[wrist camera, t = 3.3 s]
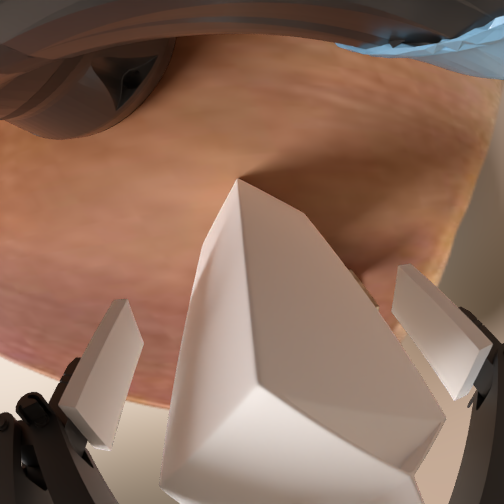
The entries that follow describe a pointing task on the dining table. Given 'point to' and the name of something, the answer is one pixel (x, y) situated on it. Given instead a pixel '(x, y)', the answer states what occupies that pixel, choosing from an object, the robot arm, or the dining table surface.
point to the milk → (289, 374)
